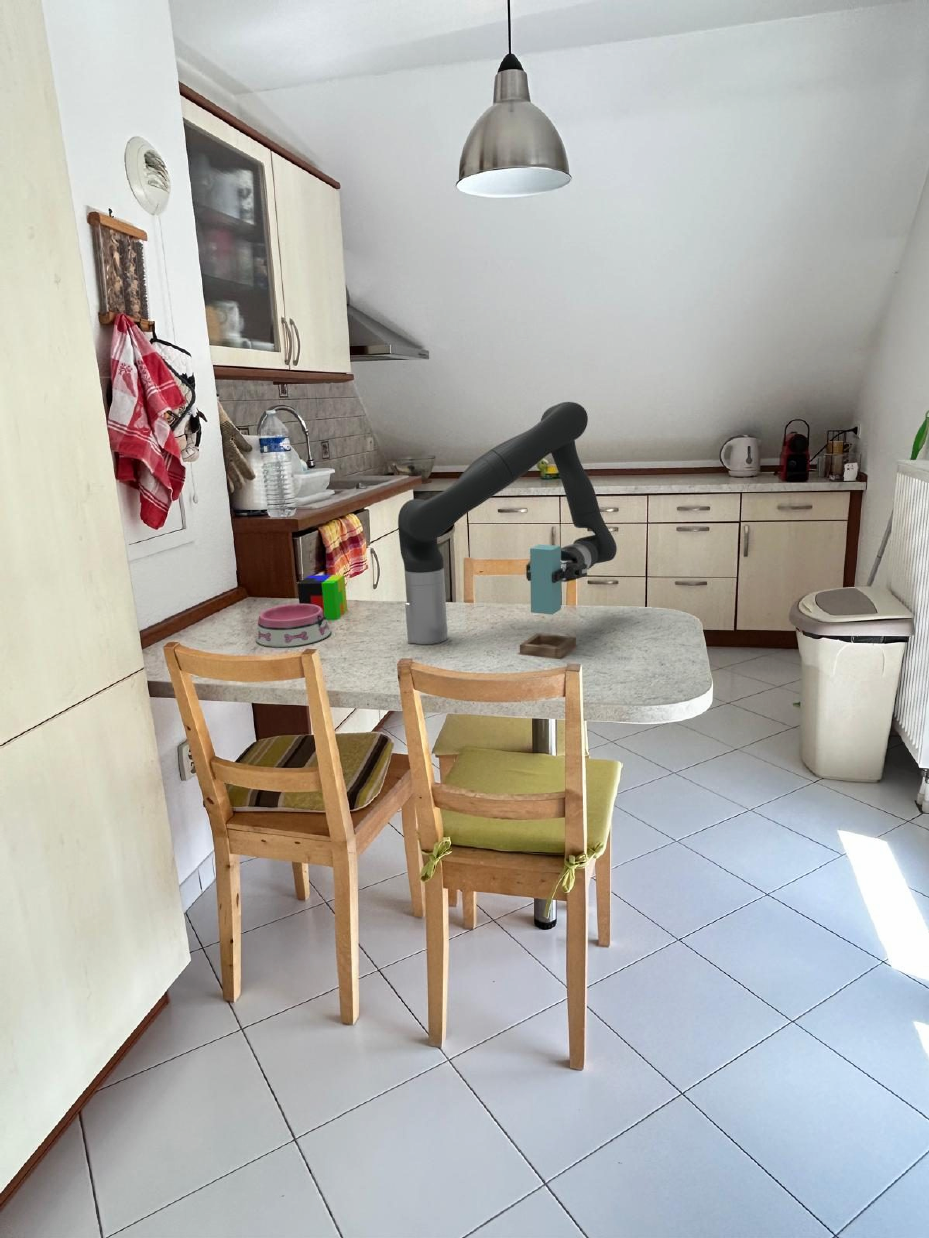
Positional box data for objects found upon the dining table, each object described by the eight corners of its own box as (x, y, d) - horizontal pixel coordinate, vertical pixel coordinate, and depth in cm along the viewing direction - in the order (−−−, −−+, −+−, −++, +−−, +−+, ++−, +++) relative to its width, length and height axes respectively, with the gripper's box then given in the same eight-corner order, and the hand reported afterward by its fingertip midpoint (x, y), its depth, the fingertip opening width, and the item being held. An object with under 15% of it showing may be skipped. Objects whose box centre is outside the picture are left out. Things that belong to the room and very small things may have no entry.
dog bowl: (315, 649, 195) (313, 621, 193) (242, 648, 199) (239, 621, 197) (341, 627, 212) (339, 601, 211) (273, 627, 216) (271, 601, 214)
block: (530, 612, 179) (530, 548, 175) (540, 607, 183) (539, 544, 179) (552, 614, 176) (552, 550, 173) (561, 609, 181) (560, 545, 177)
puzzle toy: (312, 610, 230) (309, 575, 228) (347, 610, 229) (344, 574, 226) (300, 620, 221) (297, 583, 218) (337, 619, 219) (333, 583, 217)
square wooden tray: (517, 658, 180) (516, 645, 180) (536, 645, 189) (535, 632, 188) (561, 663, 176) (561, 650, 175) (578, 649, 184) (578, 636, 184)
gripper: (541, 544, 192) (510, 557, 178) (600, 547, 185) (572, 562, 171) (541, 575, 194) (510, 591, 180) (599, 580, 187) (572, 597, 173)
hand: (541, 577), depth 175 cm, fingers closed on block, 5 cm apart
